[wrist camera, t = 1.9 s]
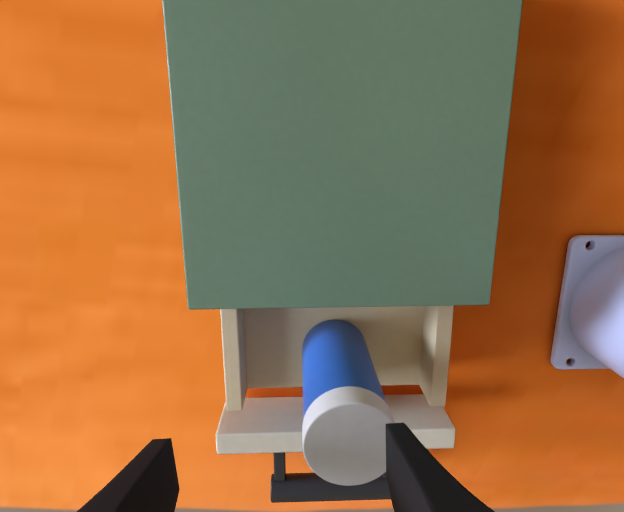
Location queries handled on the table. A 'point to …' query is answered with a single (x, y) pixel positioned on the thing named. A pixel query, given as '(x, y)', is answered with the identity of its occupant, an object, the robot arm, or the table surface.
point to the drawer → (288, 373)
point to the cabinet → (340, 149)
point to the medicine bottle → (342, 406)
